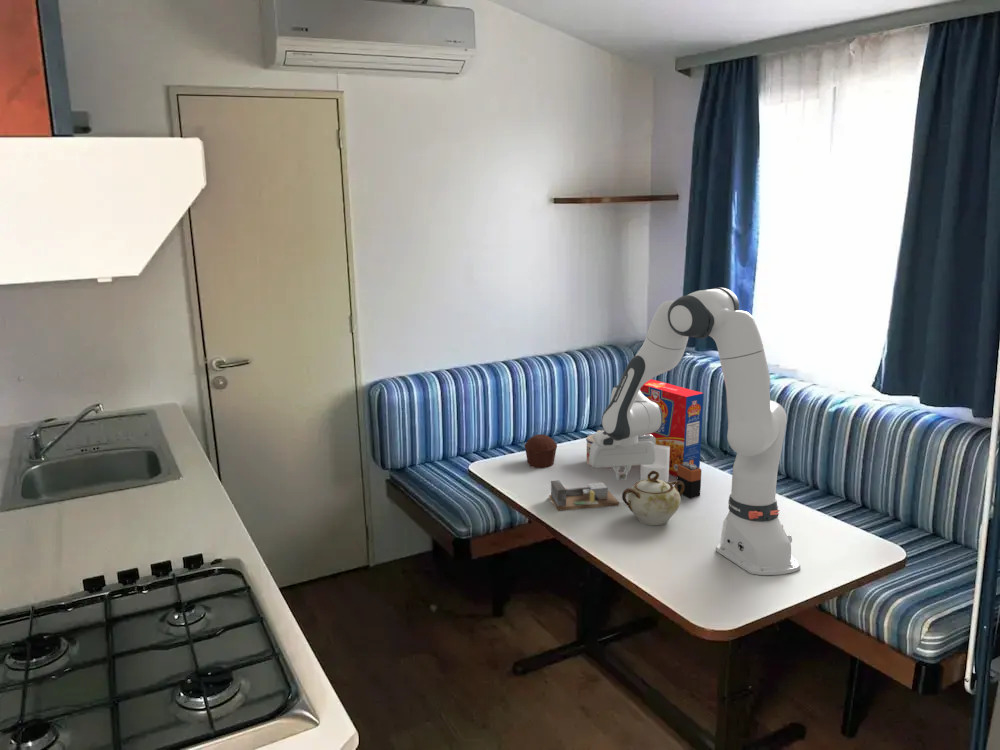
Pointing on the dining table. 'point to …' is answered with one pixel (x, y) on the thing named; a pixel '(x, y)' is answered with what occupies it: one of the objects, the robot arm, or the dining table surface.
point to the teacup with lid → (589, 446)
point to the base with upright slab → (658, 464)
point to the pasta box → (677, 421)
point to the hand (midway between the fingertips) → (621, 478)
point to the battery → (689, 479)
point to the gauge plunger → (596, 490)
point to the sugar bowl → (653, 499)
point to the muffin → (540, 451)
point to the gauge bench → (576, 498)
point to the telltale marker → (592, 496)
